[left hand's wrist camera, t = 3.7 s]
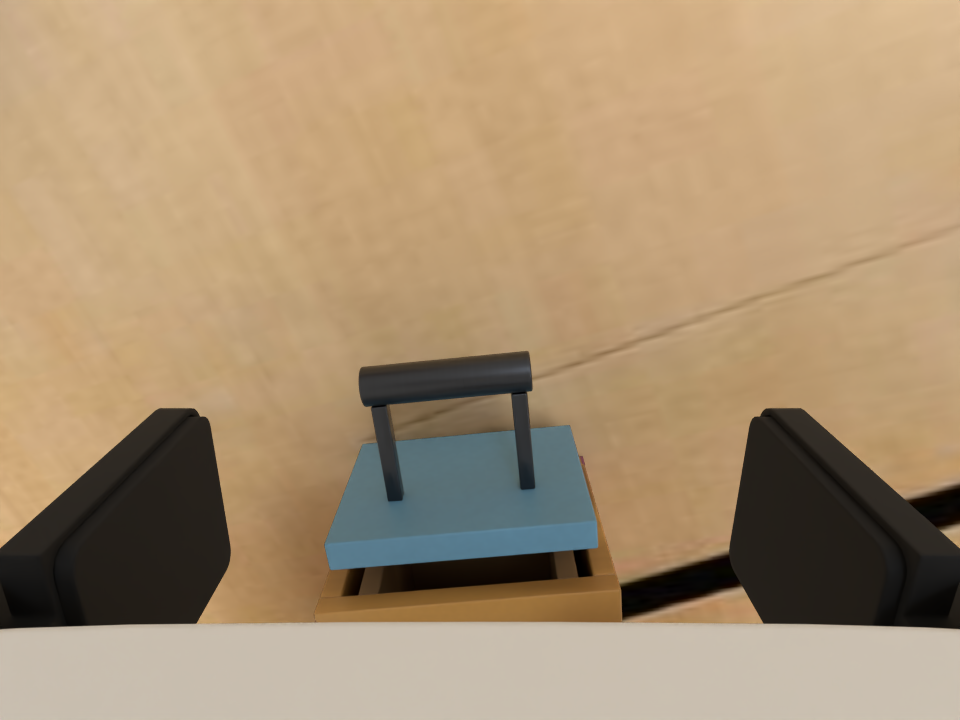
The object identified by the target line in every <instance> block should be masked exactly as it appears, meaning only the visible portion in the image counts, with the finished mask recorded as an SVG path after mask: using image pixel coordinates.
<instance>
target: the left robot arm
mask: <svg viewBox="0 0 960 720" xmlns="http://www.w3.org/2000/svg"><path fill="white" fill-rule="evenodd" d="M230 554H231V549H230V541H229V535H228V529H227V523H226V517H225V511H224V505H223V499H222V493H221V487H220V481H219V475H218V469H217V463H216V457H215V451H214V445H213V439H212V433H211V427H210V423H209V421H208V419H207V418H206V417H200V416H199V414H198V412H197V411H196V410H195V409H192V408H159V409H157V410H156V411H155V412H153V413H152V414H151V415H150V416H149V417H148V418H147V419H146V420H144V421H143V422H142V423H141V424H140V425H139V426H138V427H136V428H135V429H134V430H133V431H132V432H131V433H130V434H129V435H127V436H126V437H125V438H124V439H123V440H122V441H121V442H120V443H118V444H117V445H116V446H115V447H114V448H113V449H112V450H111V451H109V452H108V453H107V454H106V455H105V456H104V457H103V458H102V459H100V460H99V461H98V462H97V463H96V464H95V465H94V466H93V467H91V468H90V469H89V470H88V471H87V472H86V473H85V474H84V475H82V476H81V477H80V478H79V479H78V480H77V481H76V482H75V483H73V484H72V485H71V486H70V487H69V488H68V489H67V490H66V491H64V492H63V493H62V494H61V495H60V496H59V497H58V498H57V499H55V500H54V501H53V502H52V503H51V504H50V505H49V506H48V507H46V508H45V509H44V510H43V511H42V512H41V513H40V514H39V515H37V516H36V517H35V518H34V519H33V520H32V521H31V522H30V523H28V524H27V525H26V526H25V527H24V528H23V529H22V530H21V531H19V532H18V533H17V534H16V535H15V536H14V537H13V538H12V539H10V540H9V541H8V542H7V543H6V544H5V545H4V546H3V547H1V548H0V720H960V548H959V547H957V546H956V545H955V544H954V543H953V542H952V541H951V540H950V539H948V538H947V537H946V536H945V535H944V534H943V533H942V532H941V531H939V530H938V529H937V528H936V527H935V526H934V525H933V524H932V523H930V522H929V521H928V520H927V519H926V518H925V517H924V516H923V515H921V514H920V513H919V512H918V511H917V510H916V509H915V508H914V507H912V506H911V505H910V504H909V503H908V502H907V501H906V500H905V499H903V498H902V497H901V496H900V495H899V494H898V493H897V492H896V491H894V490H893V489H892V488H891V487H890V486H889V485H888V484H887V483H885V482H884V481H883V480H882V479H881V478H880V477H879V476H878V475H876V474H875V473H874V472H873V471H872V470H871V469H870V468H869V467H867V466H866V465H865V464H864V463H863V462H862V461H861V460H860V459H858V458H857V457H856V456H855V455H854V454H853V453H852V452H851V451H849V450H848V449H847V448H846V447H845V446H844V445H843V444H842V443H840V442H839V441H838V440H837V439H836V438H835V437H834V436H833V435H831V434H830V433H829V432H828V431H827V430H826V429H825V428H824V427H822V426H821V425H820V424H819V423H818V422H817V421H816V420H814V419H813V418H812V417H811V416H810V415H809V414H808V413H807V412H805V411H804V410H802V409H801V408H768V409H765V410H764V411H763V412H762V414H761V416H760V417H754V418H753V419H752V421H751V423H750V427H749V433H748V439H747V445H746V451H745V457H744V463H743V469H742V475H741V481H740V487H739V493H738V499H737V505H736V511H735V517H734V523H733V529H732V535H731V541H730V549H729V554H730V562H731V565H732V568H733V570H734V572H735V574H736V576H737V577H738V579H739V581H740V583H741V584H742V586H743V588H744V590H745V591H746V593H747V595H748V597H749V599H750V600H751V602H752V604H753V606H754V607H755V609H756V611H757V613H758V614H759V616H760V618H761V620H762V621H763V623H764V624H734V623H621V622H318V623H229V624H196V623H197V621H198V620H199V618H200V616H201V614H202V613H203V611H204V609H205V607H206V606H207V604H208V602H209V600H210V599H211V597H212V595H213V593H214V591H215V590H216V588H217V586H218V584H219V583H220V581H221V579H222V577H223V576H224V574H225V572H226V570H227V568H228V565H229V562H230Z"/></svg>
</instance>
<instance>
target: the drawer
mask: <svg viewBox="0 0 960 720" xmlns="http://www.w3.org/2000/svg"><path fill="white" fill-rule="evenodd" d="M532 389H533V387H532V374H531V364H530V356H529V352H528V351H522V352H512V353H502V354H492V355H481V356H471V357H461V358H450V359H440V360H430V361H419V362H409V363H399V364H389V365H378V366H368V367H362V368H361V369H360V372H359V392H360V397H361V401H362V403H363V405H364V406H365V407H369V406H372V407H371V411H372V416H373V422H374V427H375V433H376V438H377V443H369V444H363V445H362V447H361V450H360V452H359V455H358V458H357V460H356V463H355V465H354V468H353V471H352V473H351V476H350V479H349V481H348V484H347V486H346V489H345V492H344V494H343V497H342V500H341V502H340V505H339V507H338V510H337V513H336V515H335V518H334V520H333V523H332V526H331V528H330V531H329V534H328V536H327V539H326V541H325V544H324V546H325V550H326V554H327V559H328V563H329V567H330V570H341V569H353V568H365V567H366V569H365V572H364V576H363V580H362V583H361V587H360V591H359V595H369V594H381V593H393V592H406V591H418V590H430V589H443V588H455V587H467V586H480V585H492V584H504V583H517V582H529V581H541V580H553V579H566V578H578V573H577V568H576V563H575V559H574V554H573V550H581V549H593V548H598V531H597V520H596V516H595V513H594V509H593V506H592V502H591V499H590V495H589V491H588V488H587V484H586V481H585V477H584V474H583V470H582V467H581V463H580V459H579V456H578V452H577V449H576V445H575V442H574V438H573V435H572V431H571V427H570V426H569V425H566V426H555V427H544V428H533V429H530V419H529V407H528V396H527V392H528V391H532ZM507 393H511V397H512V408H513V418H514V428H515V430H511V431H500V432H489V433H478V434H467V435H457V436H446V437H435V438H424V439H413V440H402V441H395V436H394V430H393V424H392V418H391V413H390V407H389V405H390V404H401V403H411V402H422V401H433V400H443V399H454V398H464V397H475V396H486V395H496V394H507Z"/></svg>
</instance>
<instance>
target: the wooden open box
mask: <svg viewBox="0 0 960 720" xmlns="http://www.w3.org/2000/svg"><path fill="white" fill-rule="evenodd" d="M579 459H580V463H581V467H582V470H583V474H584V477H585V481H586V484H587V488H588V491H589V495H590V499H591V502H592V506H593V509H594V513H595V516H596V520H597V531H598V548H593V549H581V550H573V554H574V559H575V563H576V568H577V573H578V578H566V579H553V580H541V581H529V582H517V583H504V584H492V585H480V586H467V587H455V588H443V589H430V590H418V591H406V592H393V593H381V594H369V595H359V591H360V587H361V583H362V580H363V576H364V572H365V569H366V567H365V568H353V569H341V570H330V571H329V573H328V576H327V579H326V582H325V585H324V588H323V591H322V593H321V596H320V599H319V601H318V604H317V607H316V610H315V613H314V617H315V621H316V623H318V622H621V623H622V605H621V588H620V585H619V582H618V578H617V575H616V572H615V568H614V565H613V561H612V558H611V555H610V551H609V548H608V544H607V541H606V537H605V534H604V531H603V527H602V524H601V520H600V517H599V513H598V510H597V506H596V503H595V500H594V496H593V493H592V489H591V486H590V482H589V479H588V476H587V472H586V469H585V463H584V460H583V457H582V456H580V457H579Z"/></svg>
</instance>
